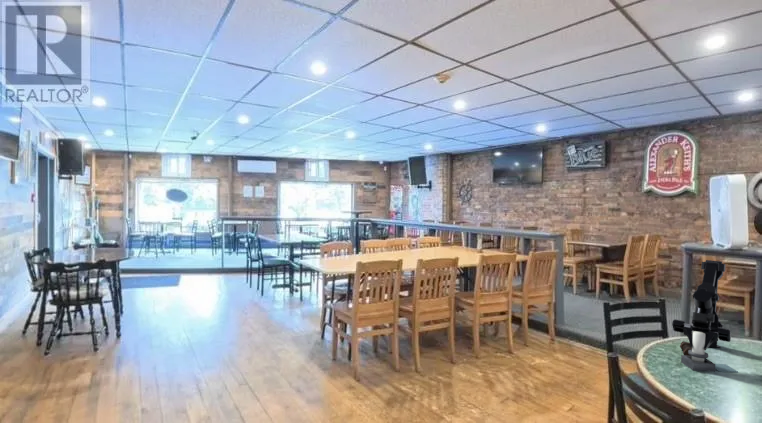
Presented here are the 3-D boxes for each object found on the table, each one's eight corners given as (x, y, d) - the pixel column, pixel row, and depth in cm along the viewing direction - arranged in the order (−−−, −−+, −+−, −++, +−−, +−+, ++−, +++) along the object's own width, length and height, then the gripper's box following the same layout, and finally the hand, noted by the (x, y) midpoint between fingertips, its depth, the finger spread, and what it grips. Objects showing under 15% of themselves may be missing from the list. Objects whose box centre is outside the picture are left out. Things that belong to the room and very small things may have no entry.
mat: (706, 364, 170) (706, 363, 170) (725, 365, 169) (725, 364, 169) (718, 371, 163) (718, 370, 163) (738, 372, 162) (738, 371, 162)
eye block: (681, 362, 172) (681, 355, 172) (702, 363, 171) (702, 356, 171) (692, 370, 164) (693, 362, 164) (715, 371, 163) (715, 364, 163)
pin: (684, 361, 171) (685, 330, 170) (701, 362, 170) (702, 330, 170) (693, 367, 165) (695, 335, 164) (711, 368, 164) (713, 336, 163)
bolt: (686, 353, 187) (693, 364, 174) (674, 345, 189) (680, 356, 176) (694, 343, 186) (702, 353, 172) (683, 335, 187) (689, 345, 174)
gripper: (673, 300, 176) (667, 332, 168) (731, 309, 163) (727, 344, 155) (676, 314, 182) (670, 346, 174) (732, 324, 169) (728, 358, 161)
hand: (697, 348), depth 166 cm, fingers closed on pin, 4 cm apart
